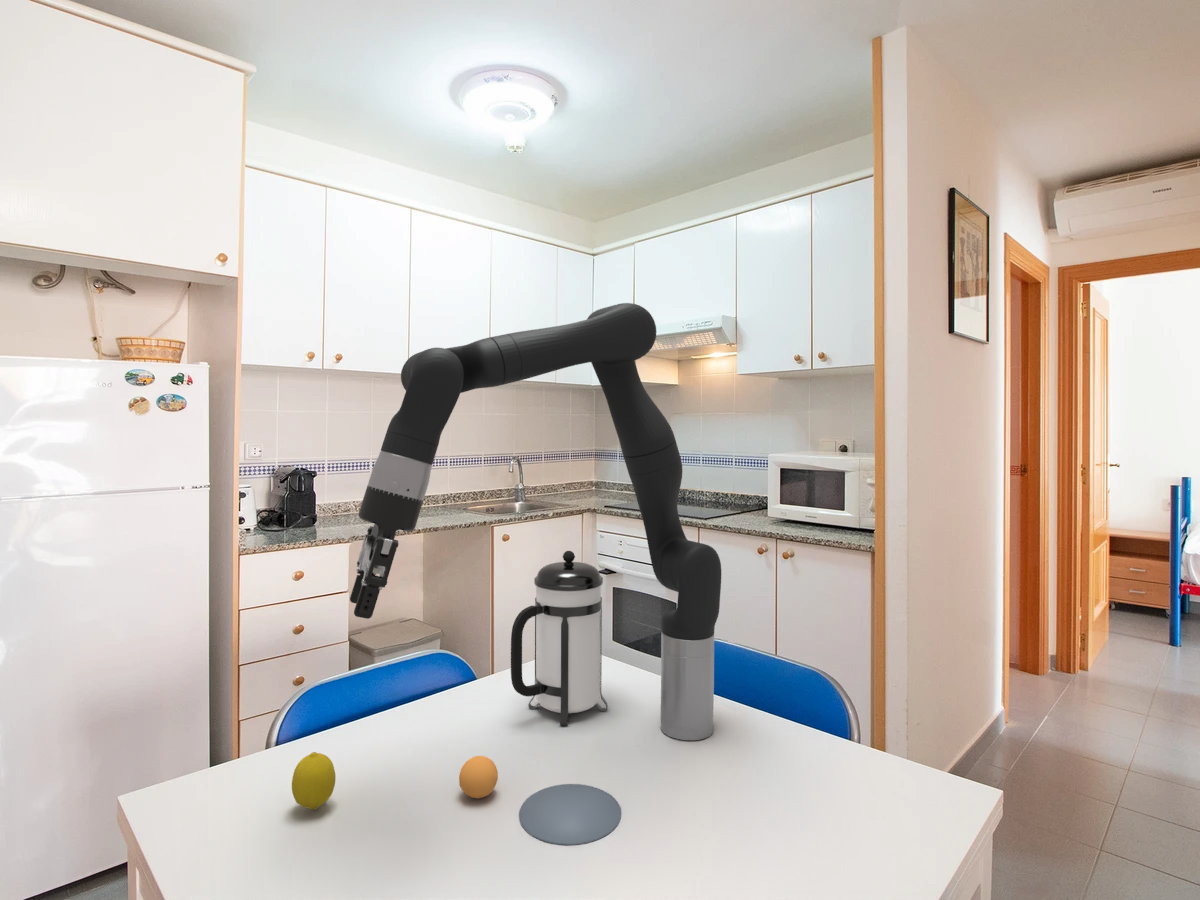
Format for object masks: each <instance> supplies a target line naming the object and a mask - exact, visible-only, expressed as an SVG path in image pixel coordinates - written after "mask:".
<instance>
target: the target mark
mask: <svg viewBox="0 0 1200 900" xmlns="http://www.w3.org/2000/svg"><path fill="white" fill-rule="evenodd" d="M621 818H622V809H621V806H620V804H619V802H618V801H617V799H616V798H615V797H614V796H613V795H612V794H610V793H609V792H608V791H605V790H603V789H601V788H598V787H595V786H592V785H588V784H579V783H565V784H564V783H563V784H556V785H552V786H549V787H545V788H541V789H539V790H537V791H535V792H534V793H533V794H530V796H528V797H527V798H526V799H525V800H524V801H523V803H522V804H521V805H520V807H519V812H518V820H519V822H520V826H521V827H522V828H523V829H524V831H525V832H526V833H527V834H529V836H532V838H534V839H537V840H539V841H542V842H544V843H548V844H553V845H559V846H560V845H561V846H577V845H585V844H589V843H593V842H596V841H598V840H601V839H602V838H605V837H606V836H608V835H610V834H611V833H612V832H613V831H615V829H616V828H617V827H618V825H619V824H620V821H621Z"/></svg>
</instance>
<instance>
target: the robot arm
mask: <svg viewBox="0 0 1200 900" xmlns="http://www.w3.org/2000/svg"><path fill="white" fill-rule="evenodd" d="M656 339H657V325H656V321H655V319H654V317H653V316H652V314H651V313H650V312H649V310H647V309H646V308H645V307H644V306H642V305H638V304H637V303H631V302H622V303H617V304H613V305H609V306H605V307H602V308H600V309H599V308H598V309H596V310H595V311H592V312H591V313H590V315H589V316H588V317H587V318H586V319H585V320H580V321H576V322H571V323H567V324H562V325H557V326H550V327H542V328H537V329H530V330H529V329H527V330H522V331H516V332H510V333H505V334H500V335H495V336H490V337H486V338H481V339H478V340H475V341H473V342H470V343H468V344H465V345H458V346H451V347H446V348H444V347H431V348H427V349H425V350H423V351H422V350H421V351H420V352H417V353H414V354H413V355H411V356H410V357H408V359H406V361H405V362H404V364H403V365H402V368H401V372H400V381H401V386H402V388H403V389H404V391H405V394H404V396H403V399H402V402H401V405H400V408H399V409H398V411H397V412H396V413H395V414H394V415H393V417H392V418H391V420H390V422H389V424H388V426H387V429H386V432H385V435H384V439H383V442H382V444H381V445H382V446H381V448H380V451H379V453H378V457H377V459H376V460H375V462H374V465H373V467H372V470H371V472H370V476H369V479H368V483H367V485H366V489H365V493H364V494H363V495H364V496H363V498H362V501H361V505H360V508H359V510H358V511H359V512H358V513H357V514H358V517H359V518H360V519H361V520H363V521H365V522H367V523H370V524H371V523H372V524H374V525H373V526H372V525H371V526H368V528H367V531H366V532H367V534H365V536H364V537H363V541H362V545H361V546H362V547H361V550H360V552H359V554H358V560H357V562H356V570H355V571H356V578H355V580H354V584H353V587H352V590H351V592H350V593H351V594H350V596H349V601H350V602H351V603H353V604H355V606H354V610H353V614H354V616H355V617H356V618H361V619H362V618H363V619H367V620H369V619H371V618H372V617H373V614H374V611H375V607H376V604H377V600H378V599H379V595H380V592H381V590H383V588H386V586H387V584H388V578H389V576H390V571H391V569H392V564H393V561H394V558H395V555H396V552H397V548H398V547H399V540H398V539H395V538H396V533H397V531H403V532H413V531H414V530H415V529H416V526H417V523H418V519H419V516H420V513H421V509H422V506H423V503H424V500H425V496H426V493H427V489H428V486H429V483H430V478H431V473H432V472H431V471H432V468H433V464H434V461H435V458H436V455H437V454H436V453H437V451H438V447H439V444H440V441H441V440H440V439H441V436H442V433H443V430H444V429H445V427H446V426H447V423H448V421H449V420H450V417H451V416H452V413H453V411H454V409H455V407H456V404H457V403H458V402H457V401H458V400H459V398H460V395H461V394H462V393H466V392H469V391H472V390H476V389H477V390H478V389H486V388H492V387H493V388H494V387H499V386H500V387H501V386H503V385H507V384H513V383H516V382H520V381H524V380H527V379H531V378H534V377H539V376H541V375H544V374H549V373H551V372H556V371H558V370H561V369H566V368H569V367H574V366H579V365H583V364H587V363H588V364H589V363H591V365H592V368H593V370H594V373H595V375H596V377H597V379H598V381H599V384H600V387H601V389H602V391H603V394H604V397H605V399H606V403H607V407H608V410H609V413H610V415H611V419H612V422H613V425H614V429H615V432H616V435H617V437H618V442H619V446H620V450H621V453H622V457H623V459H624V464H625V465H626V466H625V467H626V470H627V472H628V476H629V478H630V482H631V483H632V487H633V491H634V494H635V498H636V501H637V504H638V508H639V509H638V510H639V511H640V514H641V518H642V522H643V526H644V531H645V537H646V539H647V540H646V541H647V546H648V552H649V556H650V557H649V558H650V562H651V566H652V567H651V568H652V570H653V573H654V575H655V577H656V580H657V582H659V583H660V584H661V585H662V587H665V588H666V589H668V590H671V591H674V592H677V602H676V603H677V604H676V605H677V606H676V609H673V610H670V611H667V612H665V613H664V614H663V615H662V617H661V621H660V622H661V625H660V626H661V631H660V632H661V633H660V635H661V637H660V638H661V639H660V643H661V645H660V649H661V650H660V651H661V652H660V730H661V731H662V732H663V733H664V734H665V735H667V736H668V737H671V738H673V739H675V740H676V739H677V740H681V741H699V740H703V739H707V738H709V737H710V736H712V734H713V732H714V707H715V706H714V701H715V700H714V699H715V698H714V697H715V695H714V693H715V692H714V691H715V689H714V688H715V626H716V623H717V620H718V618H719V614H720V604H721V590H722V589H721V588H722V564H721V559H720V556H719V554H718V552H717V550H716V549H715V548H714V547H712V546H710V545H708V544H705V543H701V542H698V541H693V540H688V538H687V536H686V534H685V532H684V529H683V526H682V523H681V519H680V516H679V511H678V499H679V494H680V489H681V487H682V479H683V464H682V459H681V454H680V451H679V448H678V447H679V446H678V444H677V440H676V435H675V434H674V431H673V428H672V427H671V425H670V423H669V422H668V420H667V419H666V417H665V416H664V414H663V413H662V411H661V410H660V409H659V407H658V406H657V404H655V402H654V400H653V399H652V397H651V396H650V395H649V394H648V392H647V390H646V389H645V386H644V384H643V382H642V380H641V377H640V374H639V372H638V368H637V364H636V361H638V360H639V359H641V358H642V357H645V356H646V355H647V354H648V353H649V352H650V351H651V349H652V348H653V347H654V344H656V343H655V342H656Z"/></svg>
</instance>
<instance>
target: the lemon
mask: <svg viewBox="0 0 1200 900" xmlns="http://www.w3.org/2000/svg"><path fill="white" fill-rule="evenodd" d="M332 761H333V760H331V758H330V757H328V756H327V755H326V754H323V753H321V752H316V751H313V752H311V753H310V754H308V755H306V756H304V757H303V758H302V759H301V760H300V761H299V762H298V763H297V765H296V766H295V768H294V770H293V774H292V779H291V780H292V781H291V792H292V795H293V798H294V800H295V802H296V803H297V804H298V805H299V806H300V807H302V808H305V809H310V810H312V811H315V810H317V809H318V808H319V807H321V806H323V804H325V803H326V802H327V801H328V800H329V799H330V797H331V796H332V795H333V793H334V791H335V790H334V789H335V786H336V771H335V770H336V769H335V766H334V764H333V762H332Z"/></svg>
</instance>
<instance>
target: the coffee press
mask: <svg viewBox="0 0 1200 900" xmlns="http://www.w3.org/2000/svg"><path fill="white" fill-rule="evenodd" d="M575 558H576V556H575V553H574V552H573V551H572V550H566V551H565V552H563V555H562V559H563V561H559V562H557V561H556V562H554V563H553V562H552V563H549V564H546V565H544V566H543V567H541V568H540V569H539V571H538V572H537V574H536V576H535V577H534V579H533V580H534V581H533V582H534V585H535V587H536V588H535V589H536V590H535V591H536V592H535V593H536V595H535V596H536V597H534V605H530V606H527V607H525V608H523V609H522V610H521V611H520V612H519V613H518V614H517V616H516V617H515V619H514V622H513V624H512V627H511V633H510V634H511V637H510V679H511V680H510V681H511V685H512V687H513V689H514V690H515V692H517V694H519V695H520V696H524V697H532V698H531V699H530V700H529V702H528V709H530V710H531V711H533V710H535V709H537V708H538V707H539V706H541V707H542V708H544V709H546V710H548V711H551V712H554V713H558V714H559V713H560V715H559V726H561V727H562V726H563V727H564V726H566V727H568V726H569V716H570V714H574V713H575V714H576V713H580V712H581V713H582V712H585V711H587V710H589V709H592V708H593V707H596V708H597V709H598V710H599V711H600V712H602V713H605V712H606V711H607V710H608V705H609V704H608V702H607V700H606V699H605V698H604V696H603V693H602V692H603V691H602V676H603V675H602V665H603V664H602V654H603V653H602V650H603V649H602V648H603V646H602V644H603V642H602V641H603V640H602V639H603V636H602V635H603V634H602V633H603V632H602V631H603V625H602V623H603V597H602V596H601V595H602V594H601V593H602V585H603V584H604V583H603V582H604V578H603V576H601V574H600V571H599V570H598V568H596V567H595V566H593V565H591V564H589V563H586V562H581V561H574V560H575ZM532 618H534V684H530V685H526V684H525V683H524V680H523V633H524V628H525V625H526V623H528V621H529V620H530V619H532ZM535 697H536V700H537V703H536V704H535V705H532V704H531V702H533V700H534V699H535ZM600 699H601V701H602V702H603V704H604V705H605V707H602V706H601V705H600V704H599V703H598V702H599V701H600Z"/></svg>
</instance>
